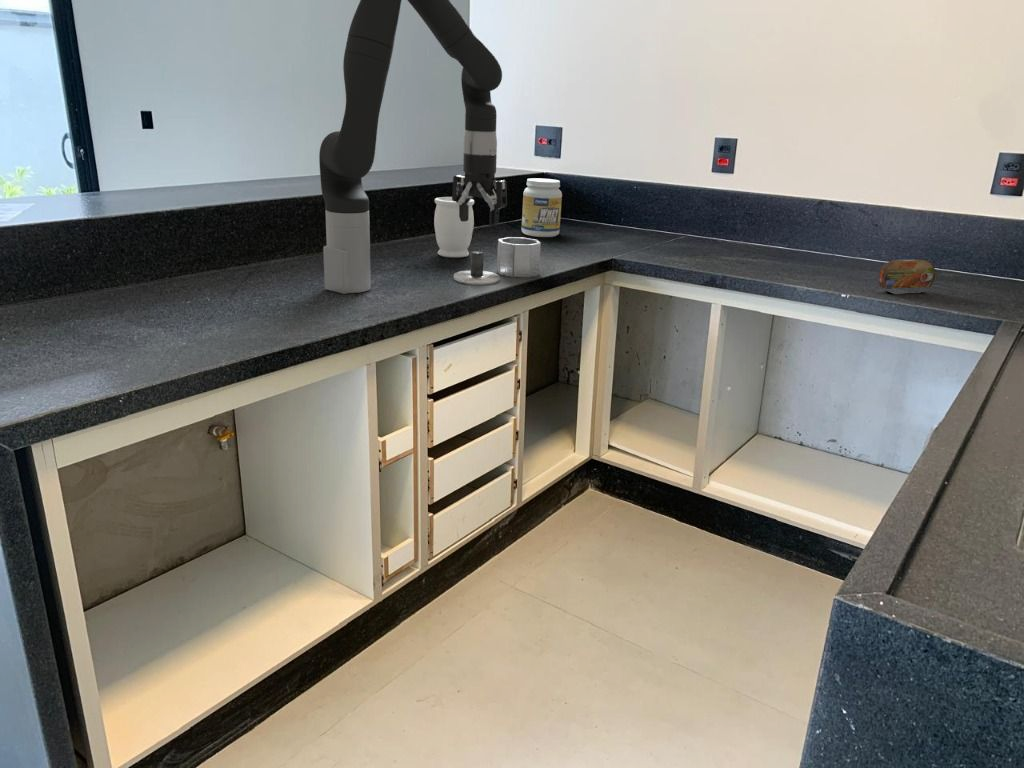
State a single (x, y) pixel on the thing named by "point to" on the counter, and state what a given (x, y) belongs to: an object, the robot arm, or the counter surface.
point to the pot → (518, 257)
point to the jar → (452, 228)
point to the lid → (476, 272)
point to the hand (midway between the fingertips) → (478, 223)
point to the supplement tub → (541, 208)
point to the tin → (907, 274)
